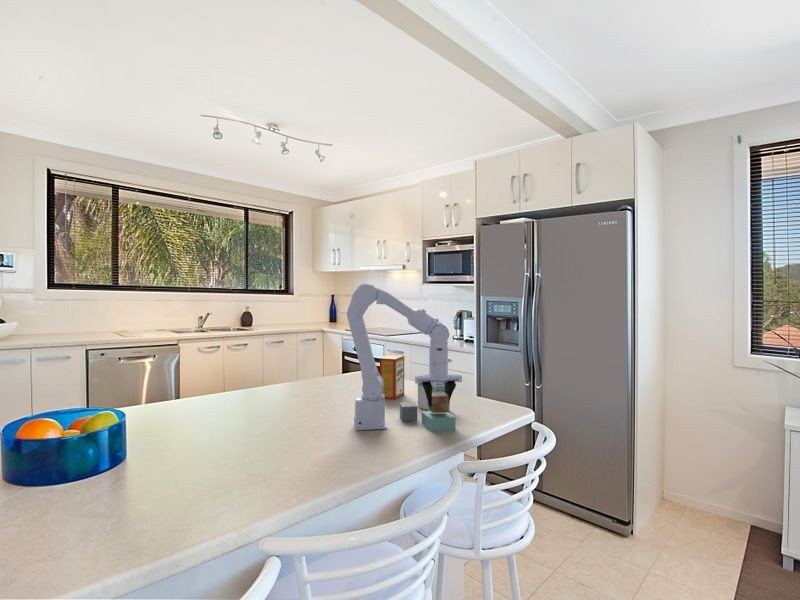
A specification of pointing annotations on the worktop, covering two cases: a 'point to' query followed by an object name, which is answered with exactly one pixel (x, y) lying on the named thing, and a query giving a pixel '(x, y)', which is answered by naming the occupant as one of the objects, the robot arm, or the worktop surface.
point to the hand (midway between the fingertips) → (438, 405)
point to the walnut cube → (439, 402)
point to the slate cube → (408, 412)
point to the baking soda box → (392, 376)
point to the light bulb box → (435, 388)
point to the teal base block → (438, 420)
